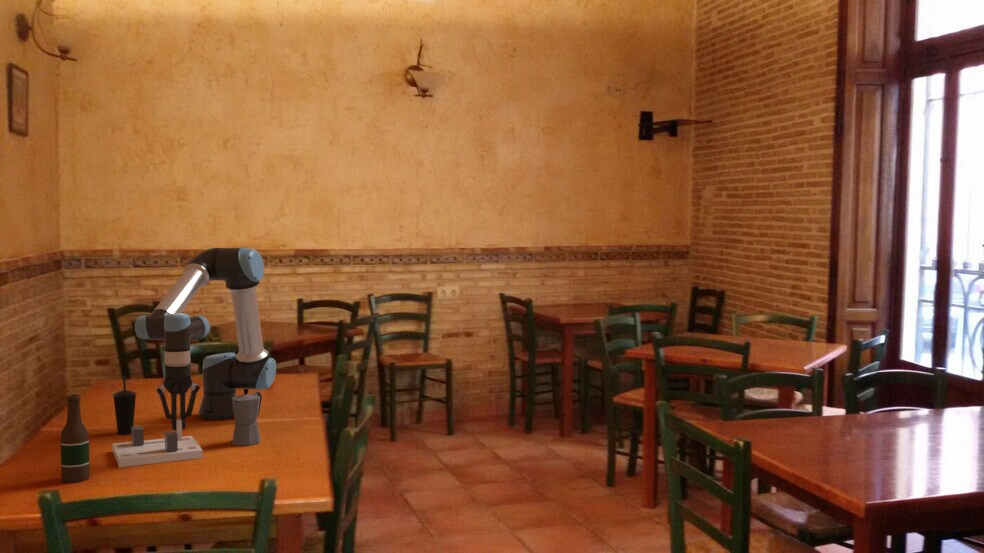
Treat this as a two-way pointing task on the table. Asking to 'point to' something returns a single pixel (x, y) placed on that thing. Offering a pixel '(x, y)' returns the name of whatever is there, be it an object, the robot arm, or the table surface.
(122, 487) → the table surface
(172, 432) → the lever
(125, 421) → the drinking cup
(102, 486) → the table surface
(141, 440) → the on lever
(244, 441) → the coffeepot
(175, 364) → the robot arm
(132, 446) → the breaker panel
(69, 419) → the beer bottle
